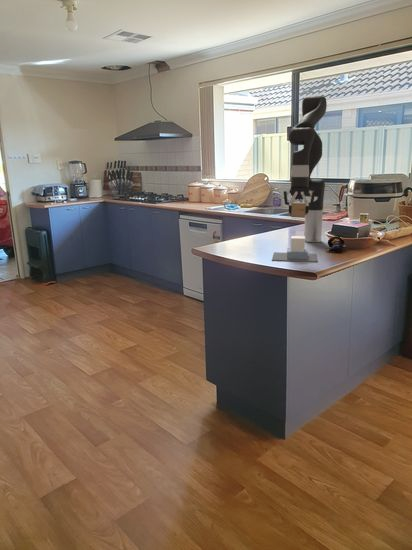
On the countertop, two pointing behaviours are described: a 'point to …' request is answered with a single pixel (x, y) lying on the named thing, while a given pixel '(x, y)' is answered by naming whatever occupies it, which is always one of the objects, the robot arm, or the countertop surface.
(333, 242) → the toy
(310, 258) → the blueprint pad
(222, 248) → the countertop surface
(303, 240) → the white block
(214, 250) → the countertop surface
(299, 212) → the walnut block
